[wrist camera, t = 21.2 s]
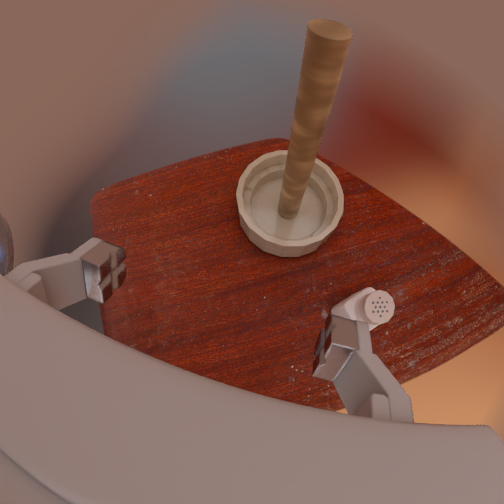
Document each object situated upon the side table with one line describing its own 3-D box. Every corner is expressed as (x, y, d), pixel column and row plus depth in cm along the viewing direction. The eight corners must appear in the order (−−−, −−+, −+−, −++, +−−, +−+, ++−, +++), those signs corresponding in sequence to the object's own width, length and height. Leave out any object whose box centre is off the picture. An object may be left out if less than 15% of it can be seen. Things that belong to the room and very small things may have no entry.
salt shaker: (354, 292, 35) (385, 277, 26) (369, 320, 34) (405, 313, 25) (327, 309, 35) (353, 299, 25) (343, 337, 34) (373, 336, 24)
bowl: (220, 229, 37) (215, 213, 33) (267, 156, 40) (269, 135, 36) (307, 276, 36) (316, 267, 31) (347, 197, 39) (358, 179, 34)
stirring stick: (274, 213, 37) (300, 28, 12) (283, 197, 38) (317, 14, 13) (292, 223, 37) (345, 45, 12) (301, 207, 38) (357, 29, 13)
